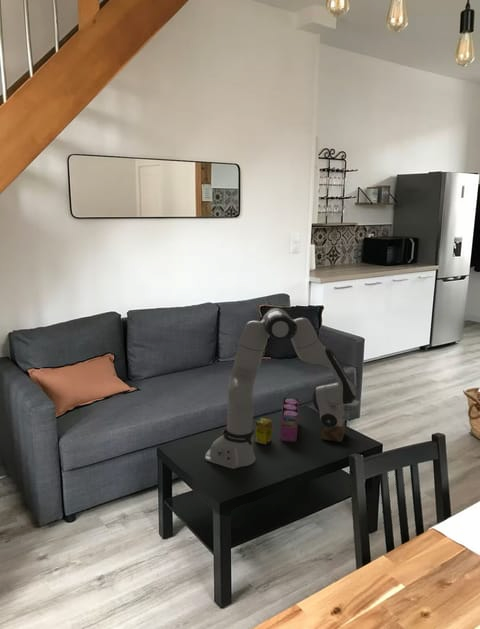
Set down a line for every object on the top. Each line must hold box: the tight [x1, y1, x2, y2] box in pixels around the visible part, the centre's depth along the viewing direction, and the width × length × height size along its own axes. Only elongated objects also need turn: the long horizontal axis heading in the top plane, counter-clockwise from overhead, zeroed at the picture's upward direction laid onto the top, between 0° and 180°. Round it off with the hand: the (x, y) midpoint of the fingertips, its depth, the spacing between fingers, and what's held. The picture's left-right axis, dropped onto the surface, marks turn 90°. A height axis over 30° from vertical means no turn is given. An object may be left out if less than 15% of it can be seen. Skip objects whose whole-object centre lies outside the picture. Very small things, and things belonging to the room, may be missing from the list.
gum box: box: [280, 397, 299, 443], centre depth 256 cm, size 24×8×14 cm, turn 173°
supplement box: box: [254, 417, 273, 446], centre depth 244 cm, size 6×6×11 cm
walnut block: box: [320, 418, 346, 443], centre depth 252 cm, size 10×10×8 cm
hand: (340, 397), depth 244 cm, fingers closed on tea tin, 5 cm apart
